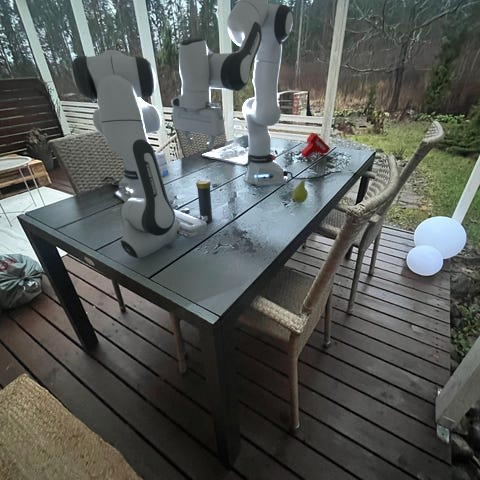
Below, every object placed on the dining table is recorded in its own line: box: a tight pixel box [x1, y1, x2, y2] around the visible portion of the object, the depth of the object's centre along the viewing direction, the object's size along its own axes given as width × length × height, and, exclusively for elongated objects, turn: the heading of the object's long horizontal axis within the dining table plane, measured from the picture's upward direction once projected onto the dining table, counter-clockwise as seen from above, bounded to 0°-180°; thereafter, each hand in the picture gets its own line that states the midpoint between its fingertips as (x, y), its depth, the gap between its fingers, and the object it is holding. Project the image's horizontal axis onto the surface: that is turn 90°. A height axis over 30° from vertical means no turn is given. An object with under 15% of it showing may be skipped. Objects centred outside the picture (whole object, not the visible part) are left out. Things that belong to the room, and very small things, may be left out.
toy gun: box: [300, 132, 330, 159], centre depth 180 cm, size 18×4×15 cm
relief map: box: [201, 142, 249, 166], centre depth 183 cm, size 27×35×5 cm
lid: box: [195, 178, 211, 188], centre depth 99 cm, size 5×5×2 cm
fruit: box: [291, 174, 311, 204], centre depth 118 cm, size 7×8×12 cm
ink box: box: [155, 151, 169, 177], centre depth 149 cm, size 8×5×12 cm, turn 135°
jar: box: [196, 186, 213, 224], centre depth 103 cm, size 5×5×16 cm
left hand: (197, 213), depth 102 cm, fingers open, 8 cm apart
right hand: (199, 146), depth 93 cm, fingers open, 8 cm apart
